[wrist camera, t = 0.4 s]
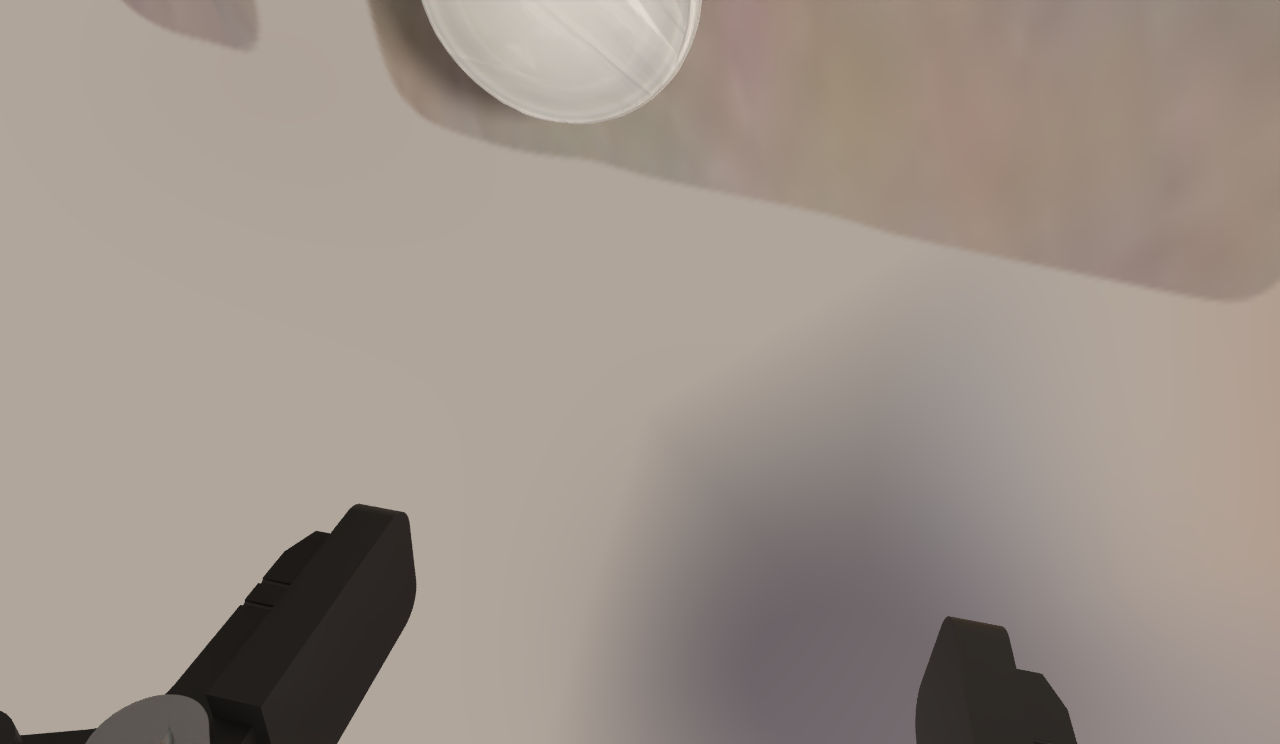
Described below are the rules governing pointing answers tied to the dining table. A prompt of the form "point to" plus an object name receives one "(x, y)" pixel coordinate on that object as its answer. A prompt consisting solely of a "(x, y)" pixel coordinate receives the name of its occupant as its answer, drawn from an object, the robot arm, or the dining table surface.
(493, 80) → the ramekin
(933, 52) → the dining table surface
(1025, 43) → the dining table surface
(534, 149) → the dining table surface
